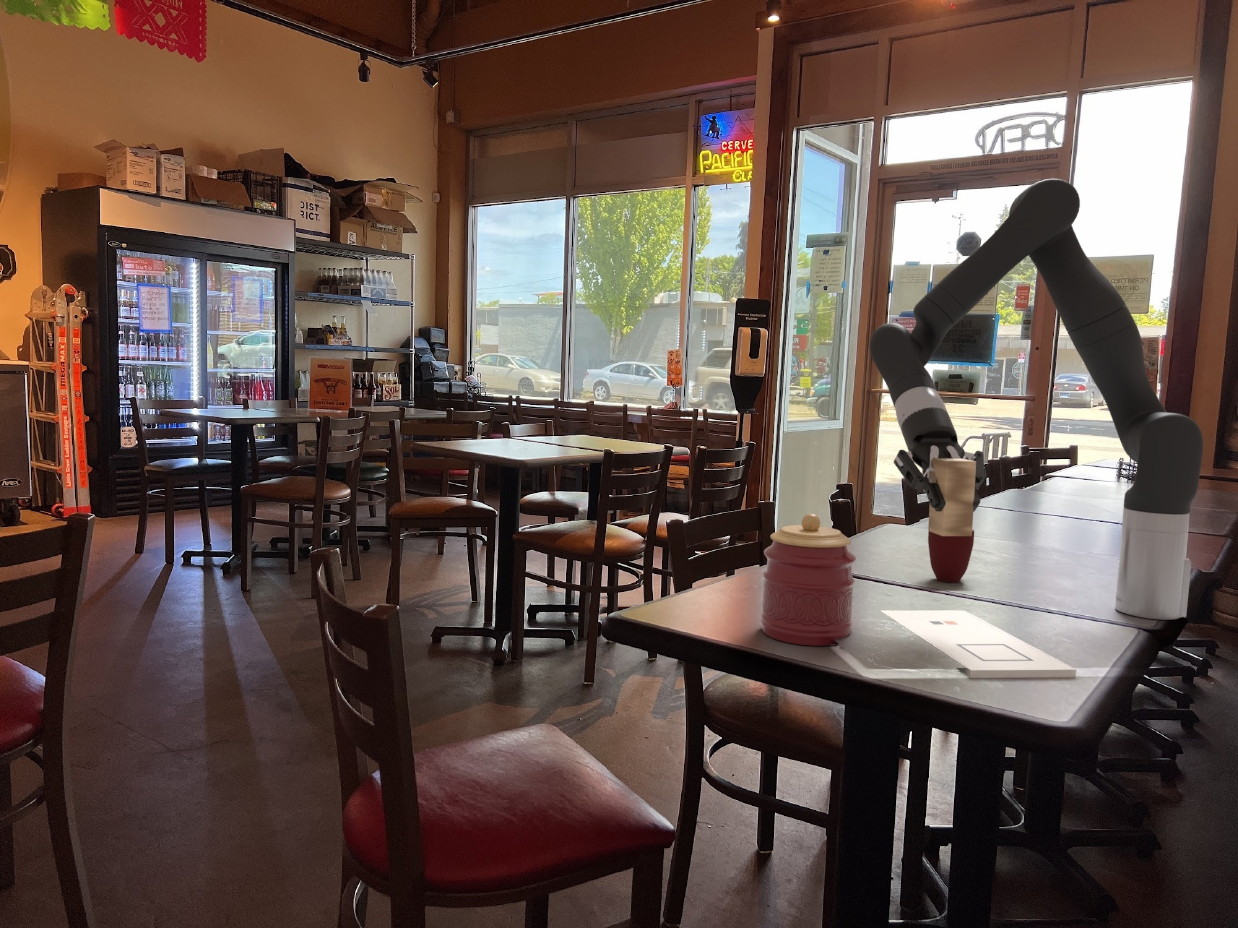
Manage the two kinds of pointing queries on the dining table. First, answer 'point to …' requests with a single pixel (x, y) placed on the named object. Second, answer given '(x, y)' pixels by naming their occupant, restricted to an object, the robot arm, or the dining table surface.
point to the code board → (980, 645)
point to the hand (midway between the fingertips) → (957, 507)
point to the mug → (950, 555)
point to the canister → (808, 585)
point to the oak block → (954, 497)
